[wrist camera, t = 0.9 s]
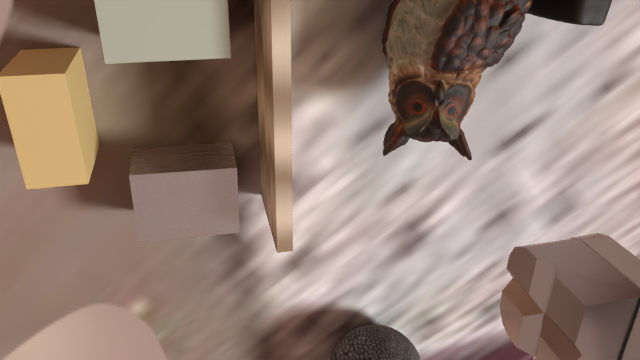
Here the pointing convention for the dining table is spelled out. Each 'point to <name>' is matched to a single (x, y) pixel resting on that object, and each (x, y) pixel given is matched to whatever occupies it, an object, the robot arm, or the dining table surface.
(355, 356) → the decorative ball
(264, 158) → the shelf corner
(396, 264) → the dining table surface
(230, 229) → the block
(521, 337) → the robot arm
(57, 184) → the book
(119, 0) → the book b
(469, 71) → the brown owl figurine
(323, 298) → the dining table surface
